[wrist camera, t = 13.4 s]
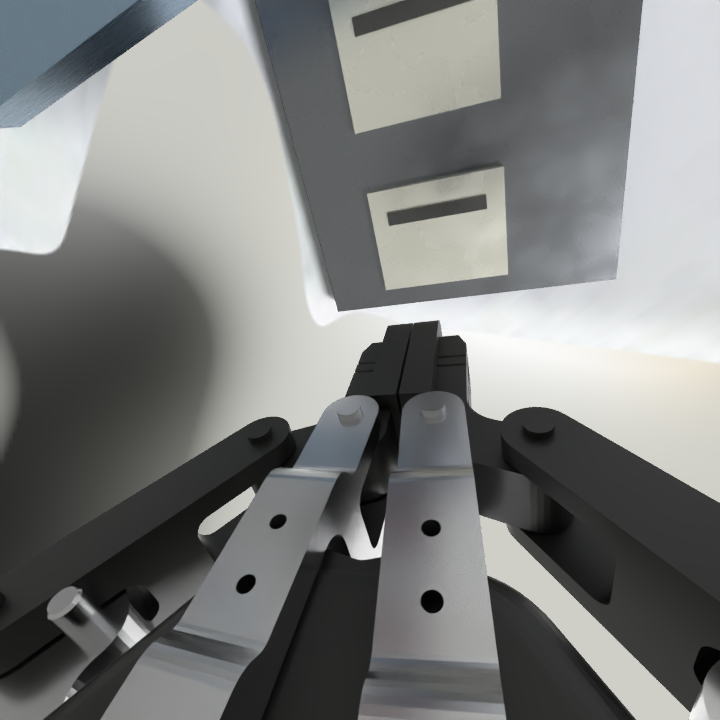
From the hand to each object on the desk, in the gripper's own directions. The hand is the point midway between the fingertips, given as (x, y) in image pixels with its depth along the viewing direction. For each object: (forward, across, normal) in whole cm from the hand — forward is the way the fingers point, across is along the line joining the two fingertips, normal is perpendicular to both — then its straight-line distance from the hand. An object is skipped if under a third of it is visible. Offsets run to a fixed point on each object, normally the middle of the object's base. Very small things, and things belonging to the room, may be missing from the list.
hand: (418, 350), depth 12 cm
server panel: (+14, -1, -5) cm, 15 cm away
